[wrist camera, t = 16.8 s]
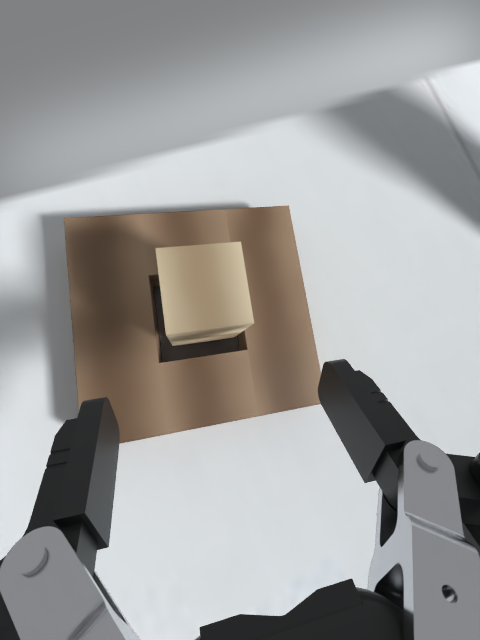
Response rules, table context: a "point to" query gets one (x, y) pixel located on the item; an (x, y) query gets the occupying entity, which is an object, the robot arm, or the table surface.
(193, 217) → the walnut board
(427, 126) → the table surface
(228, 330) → the oak peg
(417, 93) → the table surface
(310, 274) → the table surface
